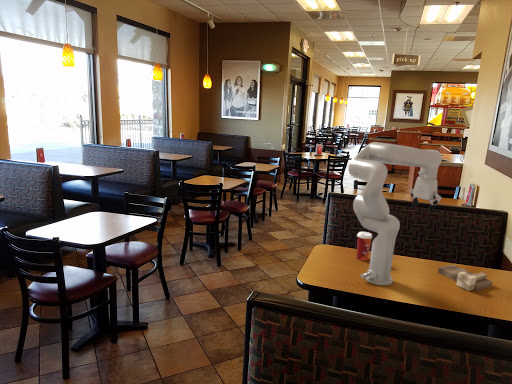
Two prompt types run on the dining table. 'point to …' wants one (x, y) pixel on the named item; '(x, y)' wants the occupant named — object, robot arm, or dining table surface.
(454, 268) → the walnut board
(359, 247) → the paper cup
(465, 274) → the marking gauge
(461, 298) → the dining table surface
